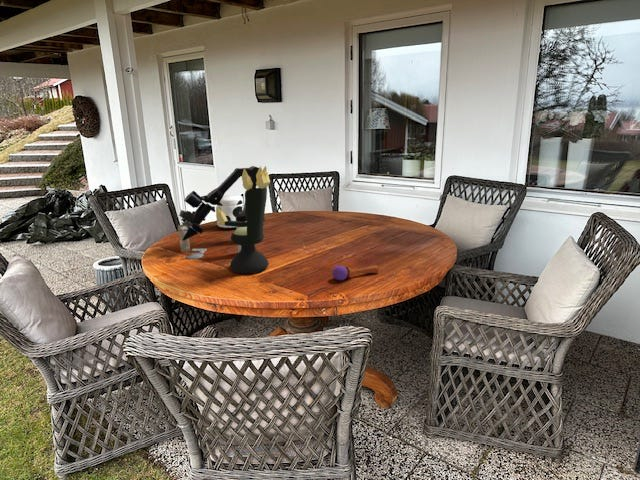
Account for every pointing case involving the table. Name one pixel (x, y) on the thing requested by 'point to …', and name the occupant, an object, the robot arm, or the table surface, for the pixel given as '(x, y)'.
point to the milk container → (230, 208)
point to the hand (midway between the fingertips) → (181, 238)
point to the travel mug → (242, 219)
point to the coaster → (195, 256)
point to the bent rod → (200, 250)
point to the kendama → (351, 271)
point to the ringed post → (184, 244)
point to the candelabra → (249, 225)
